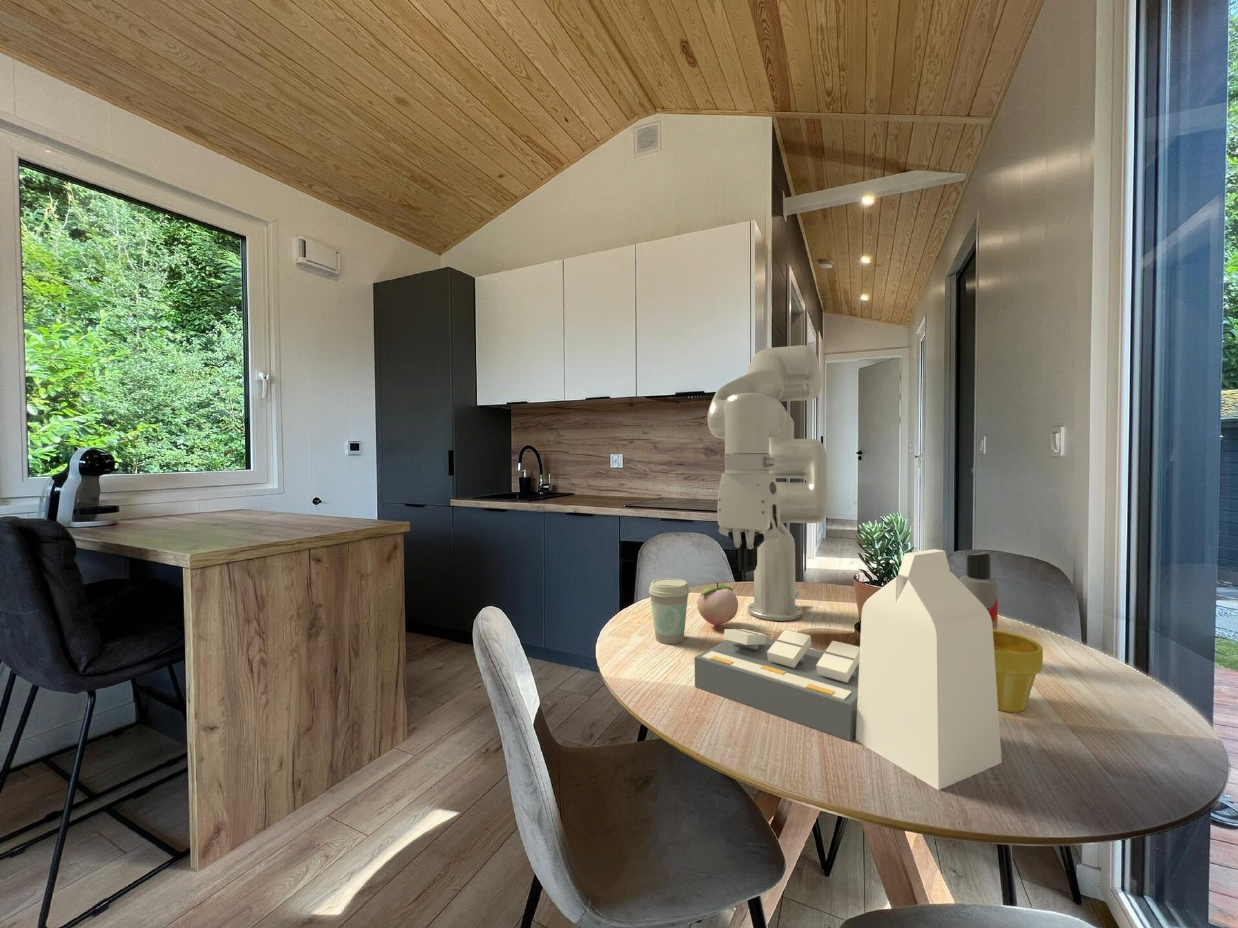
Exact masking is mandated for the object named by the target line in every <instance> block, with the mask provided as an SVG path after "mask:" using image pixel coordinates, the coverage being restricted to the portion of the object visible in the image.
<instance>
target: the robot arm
mask: <svg viewBox="0 0 1238 928" xmlns="http://www.w3.org/2000/svg"><path fill="white" fill-rule="evenodd" d="M819 362H820V361H819V357H818V356H817V353H816V351H815V350H814V349H813V348H812V347H811V346H808V345H805V344H800V345H791V346H788V345H787V346H778V347H768V348H764V349H761V350H759V351H757V352H756V353H755V354H754V355H753V357H752V358H751V360H750V363H749V365H748V367H747V370H746V371H747V372H746V374H744V375H741V376H740V377H738V378H736V379H733V380H732V381H729V382H727V383H726V384H724V385H723V386H721V387H720V388H719V389H717V390H716V392H715V394H714V396H713V398H712V400H711V403H710V405H709V408H708V411H707V418H706V419H707V427H708V430H709V432H710V433H711V435H712V436H714V438H717V439H720V440H721V439H722V440H724V472H722V473H721V476H720V481H719V487H718V495H717V511H716V512H717V516H716V517H717V523H718V526H719V528H718V533H719V535H723V536H726V537H728V538H729V539H730V540H731V541H732V542H733V544H734V547H735V548H736V551H737V552H736V553H737V566H738V571H739V572H744V573H750V572H753V589H754V590H753V591H754V592H753V594H754V595H753V598H754V599H753V601H754V602H752V603H750V604H748V606H747V612H748V613H749V614H750V615H751V616H752V617H755V618H759V619H762V620H767V621H774V622H775V621H777V622H783V621H784V622H786V621H793V620H798V619H800V618H801V617H803V609H802V608H801V607H800V606H798V605H796V599H797V598H798V599H799V597H800V592H799V591H798V590H797V589H796V543H795V538H794V536H793V535H792V533H791V532H790V530H789V529H787V527H786V525H785V523H793V524H794V523H798V524H816V523H821V522H823V520H824V519H825V518H826V516H827V512H828V462H827V461H828V457H827V452H826V451H827V450H826V448H825V446H824V444H823V443H822V441H820V440H818V439H814V438H795V421H794V419H793V418H792V417H791V415H790V414H789V412H788V411H787V410H786V407H785V406H783V404H782V402H793V401H795V402H796V401H797V402H798V401H809V400H811V401H812V400H814V399H816V398H817V397H818V396H819V395H820V392H821V389H822V374H821V367H820V363H819ZM777 479H803V480H805V481H806V482H790V481H777Z"/></svg>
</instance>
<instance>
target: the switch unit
mask: <svg viewBox="0 0 1238 928" xmlns="http://www.w3.org/2000/svg"><path fill="white" fill-rule="evenodd" d="M775 641H776V639H773V638H769V637H766V644H757V645H745V644H741V643H738V642H734V641H730V640H726V639H725V640H723V641H722V642H721V643H720V642H719V643H718V644H717V645H714V646H713V647H711V648H709V649H707V650H705V651H703V652H702V653H700V654H698V655H696V656H694V687H695V688H696V689H697V688H698V689H700V690H702V691H706V692H709V693H712V694H714V695H717V696H720V697H723V698H726V699H729V700H732V701H735V702H736V703H740V704H743V705H745V706H749V707H751V708H754V709H756V710H760V711H763V712H765V713H768V714H771V715H773V716H777V717H780V718H782V719H786V720H787V721H791V722H794V723H797V724H799V725H802V726H805V727H808V728H811V729H813V730H817V731H820V732H822V733H825V734H828V735H831V736H834V737H837V738H840V739H842V740H845V741H848V742H851V740H852V739H853V738H855V737H856V723H857V702H858V680H859V663H858V665H857V667H856V668H855V670H854V672H853V674H852V675H851V677H850V679H849V681H848V682H843V681H839V680H836V679H832V678H829V677H825V676H822V675H818V674H817V668H816V664H817V663H818V661H819V660H820V659H821V657H822V656H823V654H824V652H825V651H822V650H818V649H814V648H810V647H809V648H808V650H807V651H806V652H805V654H804V655H803V657H802V658H801V659H800V661H799V662H798V663H797V665H796V666H795V668H793V667H789V666H786V665H782V664H779V663H775V662H771V661H768V657H767V651H768V650H769V649H770V647H771V646H772V645H773V644H774V643H775Z"/></svg>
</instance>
